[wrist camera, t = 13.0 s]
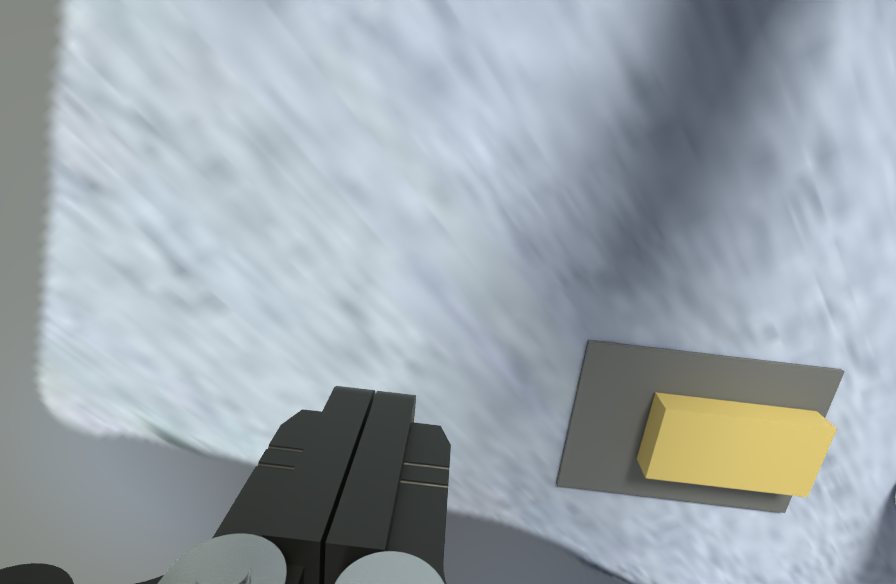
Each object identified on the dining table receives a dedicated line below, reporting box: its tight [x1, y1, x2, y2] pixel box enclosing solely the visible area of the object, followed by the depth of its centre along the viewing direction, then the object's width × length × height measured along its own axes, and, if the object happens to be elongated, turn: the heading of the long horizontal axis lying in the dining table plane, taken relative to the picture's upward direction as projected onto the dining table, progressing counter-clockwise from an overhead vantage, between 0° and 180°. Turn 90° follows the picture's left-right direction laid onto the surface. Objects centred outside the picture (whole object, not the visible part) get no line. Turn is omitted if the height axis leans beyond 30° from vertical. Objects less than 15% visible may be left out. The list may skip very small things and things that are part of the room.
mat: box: [557, 340, 844, 513], centre depth 42 cm, size 20×14×1 cm
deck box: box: [637, 392, 837, 497], centre depth 41 cm, size 2×6×13 cm
